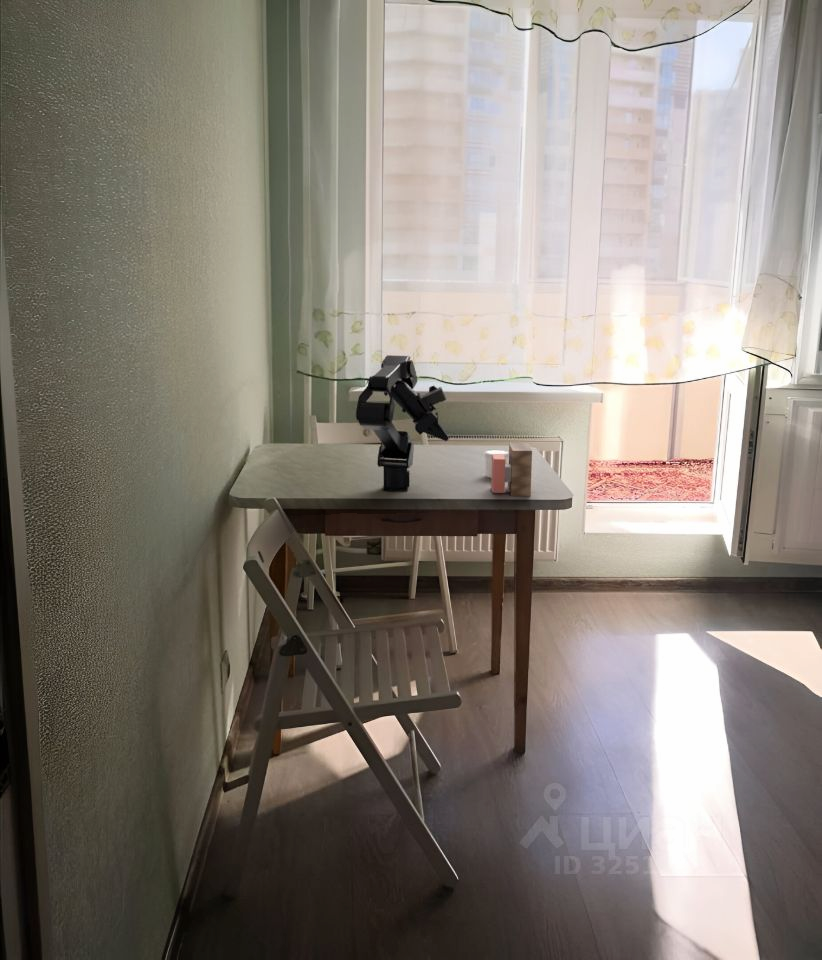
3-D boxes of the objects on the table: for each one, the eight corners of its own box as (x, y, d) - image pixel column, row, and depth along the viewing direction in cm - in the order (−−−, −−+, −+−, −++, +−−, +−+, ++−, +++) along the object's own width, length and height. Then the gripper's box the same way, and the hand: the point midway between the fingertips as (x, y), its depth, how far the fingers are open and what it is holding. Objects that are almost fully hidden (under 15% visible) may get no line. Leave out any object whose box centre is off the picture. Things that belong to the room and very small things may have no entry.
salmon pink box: (493, 492, 241) (493, 459, 239) (491, 486, 248) (492, 453, 246) (527, 493, 241) (528, 459, 239) (524, 486, 248) (525, 453, 245)
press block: (511, 495, 239) (512, 450, 237) (507, 486, 249) (509, 442, 246) (530, 496, 239) (532, 450, 237) (526, 486, 249) (527, 443, 246)
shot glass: (482, 473, 264) (482, 449, 262) (506, 473, 264) (506, 449, 263) (485, 479, 257) (486, 454, 256) (510, 478, 258) (510, 454, 256)
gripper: (428, 382, 234) (471, 425, 237) (428, 372, 253) (467, 413, 255) (397, 412, 236) (440, 455, 239) (399, 401, 254) (439, 440, 257)
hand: (447, 439), depth 247 cm, fingers closed
